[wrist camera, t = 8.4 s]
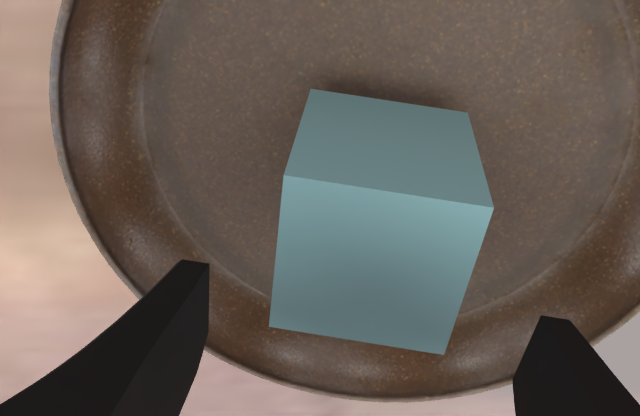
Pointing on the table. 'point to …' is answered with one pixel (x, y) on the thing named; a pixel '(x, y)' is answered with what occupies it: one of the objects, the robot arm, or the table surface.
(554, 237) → the plant saucer
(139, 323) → the robot arm
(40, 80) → the table surface
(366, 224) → the block
